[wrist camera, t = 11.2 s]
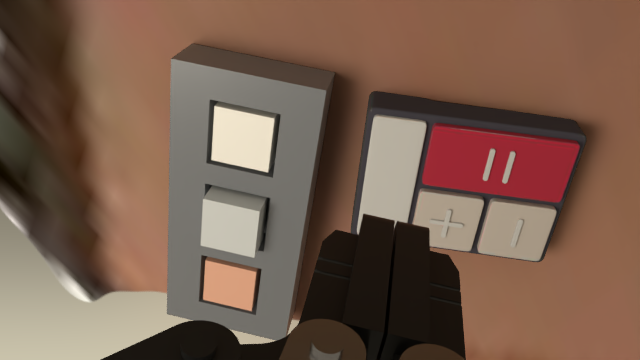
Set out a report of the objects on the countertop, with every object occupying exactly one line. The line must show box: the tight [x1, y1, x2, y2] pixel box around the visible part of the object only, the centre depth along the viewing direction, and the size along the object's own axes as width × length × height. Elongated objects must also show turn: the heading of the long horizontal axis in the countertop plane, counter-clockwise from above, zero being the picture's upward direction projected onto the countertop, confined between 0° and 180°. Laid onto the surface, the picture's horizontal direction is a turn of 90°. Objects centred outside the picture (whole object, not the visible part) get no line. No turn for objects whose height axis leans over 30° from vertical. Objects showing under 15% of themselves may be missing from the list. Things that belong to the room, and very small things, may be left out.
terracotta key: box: [203, 257, 262, 311], centre depth 48 cm, size 4×4×2 cm
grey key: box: [201, 185, 268, 258], centre depth 44 cm, size 4×4×2 cm
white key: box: [211, 101, 281, 172], centre depth 41 cm, size 4×4×2 cm
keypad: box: [167, 44, 335, 340], centre depth 46 cm, size 11×24×4 cm, turn 171°
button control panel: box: [351, 91, 586, 262], centre depth 42 cm, size 11×4×15 cm
